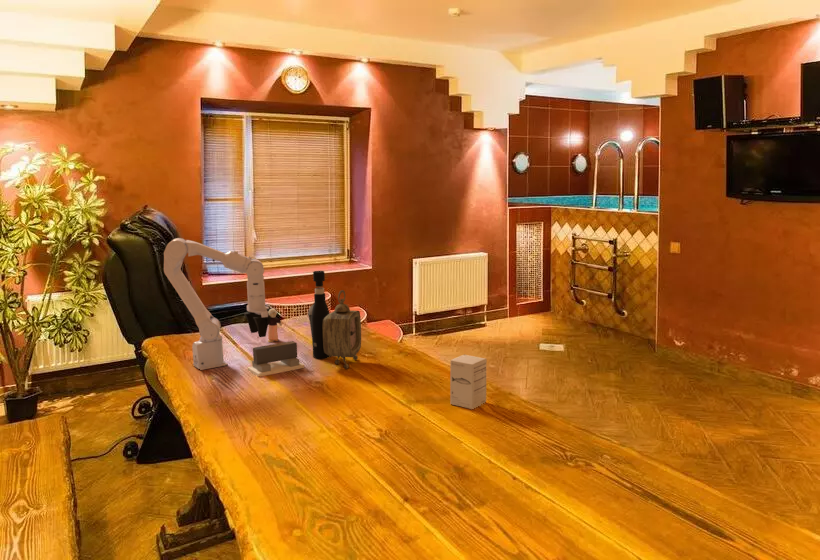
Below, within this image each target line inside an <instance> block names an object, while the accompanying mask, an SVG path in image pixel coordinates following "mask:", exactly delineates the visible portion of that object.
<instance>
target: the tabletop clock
mask: <svg viewBox="0 0 820 560" xmlns="http://www.w3.org/2000/svg"><path fill="white" fill-rule="evenodd" d="M342 293H343V298H340V297H341V294H342ZM337 300H338V301H337V302H338V303H339V304H337V305H336V306H335V307H334V311H332V312H329V314H328V315H327V316H326V317H325V318H324V319H323V347H324V353H325V354H327V355H329V356H331V357H334V358H335V357H337V358H336V359H335V360H334V363H335V365H339V364H340V363H341V361H340V358H341V360H342V362H343V363H344V365H343V368H344V369H345V370H348V369H349V364H348V363H347V360H346V358H353V360H354V361H356V360H358V353H359V351H360V350H361V347H362V319H361V311H360V310H352V309H350V307H349V305H348V304H346V303H345V300H346V292H345V290H343V289H342V290H339V292H338V295H337Z"/></svg>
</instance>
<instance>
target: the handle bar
mask: <svg viewBox="0 0 820 560" xmlns="http://www.w3.org/2000/svg"><path fill="white" fill-rule="evenodd" d="M252 357H253V360H252V361H254V363H255V364H256V365H260V364H265V363H273V362H279V361H281V360H286V359H292V358H298V343H297V342H296V341H293V340H291V341H285V342H279V343H274V344H268V345H261V346H257V347H256V346H255V347H252Z"/></svg>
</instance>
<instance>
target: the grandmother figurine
mask: <svg viewBox="0 0 820 560" xmlns="http://www.w3.org/2000/svg"><path fill="white" fill-rule="evenodd" d="M277 314H278V311H277V309H275V308H269V309H268V316H271V320H270V321H269V324H268V330H267V332H268V334H267V336H268V340H267V343H274V342H279V341H280V339H279V334H278V325H279V327H281V326H283V323H282V320H281V319H280V318H279V317H276V316H277ZM278 340H279V341H278Z"/></svg>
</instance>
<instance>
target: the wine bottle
mask: <svg viewBox="0 0 820 560" xmlns="http://www.w3.org/2000/svg"><path fill="white" fill-rule="evenodd" d="M312 275H313V279H312V280H313V282H315V288H314V293H313V297H314V298H313V299H314V300H313V301H314V302H313V304H314V305H313V304H312V305H313V309H312V315H311V322H312V334H311V340H312V342H311V343H312V345H311V346H312V357H313V358H314V359H317V360H323V359H324V360H325V359H329V358H331V357H332V356H329V355H327V354H325V353H324V347H323V319H324V318H325V317H326V316H327V315H328V314H330V310H329V307H328V305H327V301H326V293H325V288H324V282H325V281H326V275H325V271H324V270H314V271H312Z"/></svg>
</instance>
